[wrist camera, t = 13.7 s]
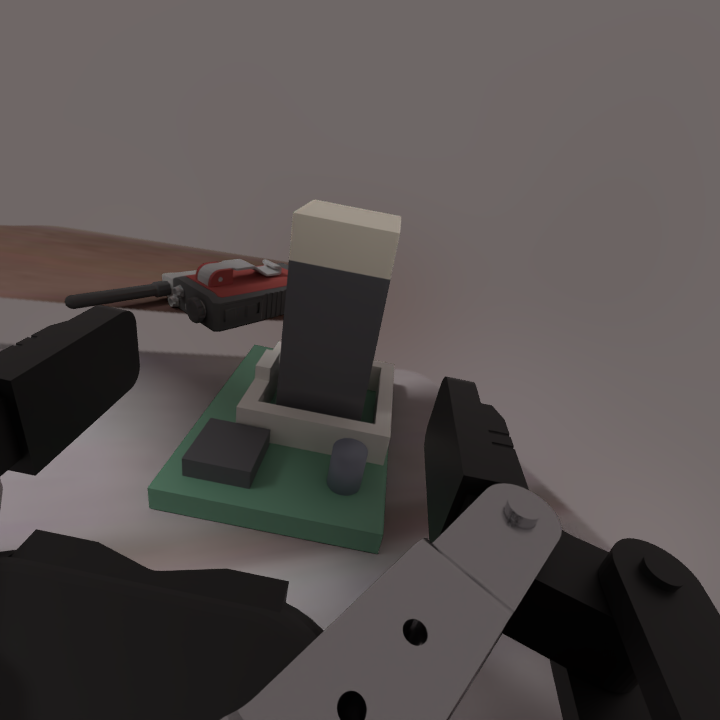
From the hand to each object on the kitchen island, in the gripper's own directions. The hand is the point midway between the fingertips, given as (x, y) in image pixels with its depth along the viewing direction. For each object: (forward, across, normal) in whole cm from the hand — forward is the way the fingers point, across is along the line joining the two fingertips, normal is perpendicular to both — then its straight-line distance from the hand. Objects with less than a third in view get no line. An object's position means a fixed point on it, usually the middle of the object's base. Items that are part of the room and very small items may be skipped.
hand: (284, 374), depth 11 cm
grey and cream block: (+11, 0, +9) cm, 14 cm away
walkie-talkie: (+24, +12, +11) cm, 29 cm away
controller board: (+10, +1, +10) cm, 14 cm away
